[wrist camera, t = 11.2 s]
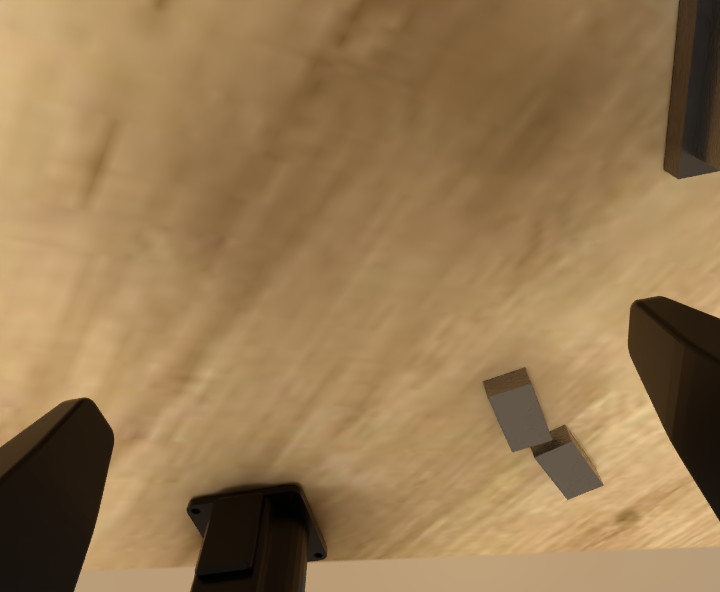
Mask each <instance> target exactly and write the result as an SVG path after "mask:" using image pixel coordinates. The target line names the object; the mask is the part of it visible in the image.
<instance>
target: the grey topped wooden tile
mask: <svg viewBox="0 0 720 592" xmlns="http://www.w3.org/2000/svg"><path fill="white" fill-rule="evenodd" d="M483 383H484V386H485V389H486V393H487V396H488V399H489V401H490V403H491V405H492V408H493V410H494V412H495V414H496V417H497V419H498V421H499V424H500V426H501V428H502V430H503V433H504V435H505V437H506V439H507V442H508V444H509V446H510V448H511V451H512V452H515V451H518V450H521V449H525V448H528V447H532V446H535V445H538V444H542V443H545V442H548V441H552V438H551V435H550V432H549V430H548V427H547V424H546V422H545V419H544V416H543V414H542V411H541V408H540V406H539V403H538V400H537V398H536V395H535V392H534V390H533V387H532V384H531V382H530V380H529V377H528V375H527V372H526V370H525V368H522V369H519V370H516V371H513V372H510V373H507V374H504V375H501V376H498V377H495V378H492V379H489V380H486V381H483Z"/></svg>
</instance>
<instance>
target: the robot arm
mask: <svg viewBox="0 0 720 592" xmlns="http://www.w3.org/2000/svg"><path fill="white" fill-rule="evenodd" d="M628 349H629V353H630V357H631V359H632V361H633V363H634V365H635V367H636V370H637V372H638V374H639V376H640V378H641V380H642V382H643V385H644V387H645V389H646V391H647V393H648V395H649V397H650V399H651V402H652V404H653V406H654V408H655V410H656V412H657V414H658V417H659V419H660V421H661V423H662V425H663V427H664V429H665V431H666V433H667V435H668V437H669V439H670V441H671V443H672V445H673V446H674V448H675V450H676V451H677V453H678V455H679V457H680V458H681V460H682V461H683V463H684V465H685V466H686V468H687V469H688V471H689V473H690V474H691V476H692V477H693V479H694V481H695V482H696V484H697V486H698V487H699V489H700V490H701V492H702V494H703V495H704V497H705V498H706V500H707V502H708V503H709V505H710V506H711V508H712V510H713V511H714V513H715V514H716V516H717V518H718V519H719V521H720V319H719V318H717V317H714V316H712V315H709V314H707V313H704V312H702V311H699V310H696V309H694V308H691V307H689V306H686V305H684V304H681V303H679V302H676V301H674V300H671V299H668V298H666V297H663V296H656V297H651V298H645V299H639V300H636V301H634V302H633V303H632V305H631V308H630V319H629V333H628ZM113 446H114V433H113V430H112V428H111V427H110V425H109V424H108V422H107V421H106V419H105V418H104V416H103V415H102V413H101V412H100V410H99V409H98V407H97V406H96V404H95V403H94V402H93V401H92V400H91V399H89V398H78V399H72V400H67V401H64V402H62V403H60V404H59V405H58V406H56V407H55V408H53V409H52V410H51V411H49V412H48V413H47V414H45V415H44V416H42V417H41V418H40V419H38V420H37V421H36V422H34V423H33V424H32V425H30V426H29V427H27V428H26V429H25V430H23V431H22V432H21V433H19V434H18V435H16V436H15V437H14V438H12V439H11V440H10V441H8V442H7V443H6V444H4V445H3V446H1V447H0V592H74V590H75V587H76V583H77V581H78V577H79V574H80V572H81V569H82V566H83V563H84V559H85V556H86V553H87V550H88V547H89V544H90V541H91V538H92V535H93V532H94V528H95V525H96V521H97V517H98V513H99V508H100V504H101V500H102V495H103V491H104V486H105V482H106V477H107V473H108V468H109V464H110V460H111V455H112V451H113ZM187 513H188V515H189V516H190V518H191V519H192V521H193V522H194V524H195V526H196V527H197V529H198V530H199V532H200V534H201V535H202V537H203V542H202V546H201V549H200V553H199V557H198V561H197V564H196V568H195V576H194V580H193V584H192V587H191V591H190V592H305V581H306V570H307V562H310V561H318V560H323V559H325V558H326V556H327V547H326V545H325V543H324V540H323V538H322V536H321V533H320V531H319V528H318V526H317V524H316V521H315V519H314V517H313V514H312V512H311V510H310V507H309V505H308V503H307V500H306V498H305V496H304V493H303V491H302V489H301V488H300V487H299V486H296V485H287V486H280V487H274V488H267V489H260V490H254V491H247V492H240V493H233V494H227V495H220V496H213V497H207V498H200V499H194V500H191V501H190V502H189V504H188V507H187Z"/></svg>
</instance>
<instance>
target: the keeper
mask: <svg viewBox="0 0 720 592" xmlns="http://www.w3.org/2000/svg"><path fill="white" fill-rule="evenodd" d="M712 6H713V0H680V6H679V16H678V27H677V37H676V48H675V58H674V69H673V79H672V90H671V100H670V111H669V121H668V132H667V142H666V153H665V163H664V170H665V171H666V172H668V173H669V174H671V175H673V176H674V177H676V178H677V179H681V178H686V177H691V176H696V175H702V174H707V173H712V172H717V171H719V170H718V169H716V168H714V167H712V166H710V165H708V164H707V163H705V162H703V161H701V160H699V159H698V158H696V157H694V156H695V148H696V139H697V131H698V123H699V114H700V106H701V98H702V89H703V81H704V73H705V64H706V56H707V48H708V39H709V31H710V23H711V14H712Z"/></svg>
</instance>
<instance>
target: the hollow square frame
mask: <svg viewBox="0 0 720 592" xmlns="http://www.w3.org/2000/svg"><path fill="white" fill-rule="evenodd" d="M694 157H696V158H698V159H699V160H701V161H703V162H705V163H707V164H708V165H710V166H712V167H714V168H716V169H718V170H719V171H720V0H713V6H712V14H711V23H710V31H709V39H708V48H707V56H706V64H705V73H704V81H703V89H702V98H701V106H700V114H699V123H698V131H697V139H696V148H695V156H694Z"/></svg>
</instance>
